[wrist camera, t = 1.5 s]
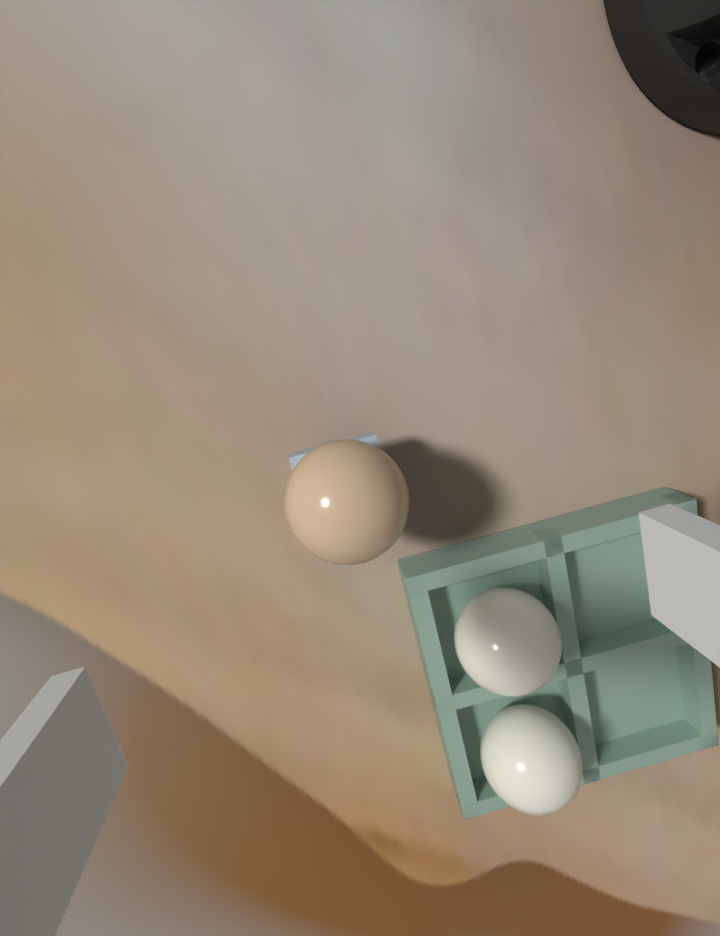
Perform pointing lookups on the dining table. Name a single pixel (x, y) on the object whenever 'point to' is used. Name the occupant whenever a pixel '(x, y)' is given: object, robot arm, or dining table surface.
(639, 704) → the carton
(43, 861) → the robot arm
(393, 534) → the brown egg
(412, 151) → the dining table surface
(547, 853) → the dining table surface
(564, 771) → the cream egg
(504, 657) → the cream egg
